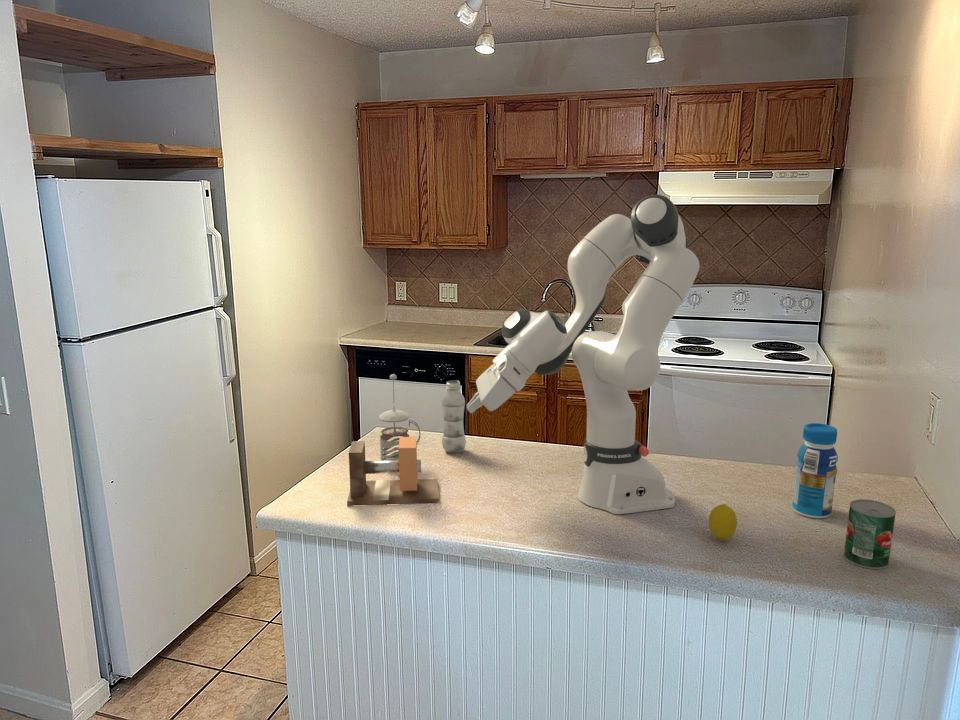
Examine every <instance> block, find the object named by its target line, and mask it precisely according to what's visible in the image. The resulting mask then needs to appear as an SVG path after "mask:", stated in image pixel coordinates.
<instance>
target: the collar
mask: <svg viewBox="0 0 960 720" xmlns="http://www.w3.org/2000/svg"><path fill="white" fill-rule="evenodd" d="M399 438H400V439H399V440H398V441H399V445H398V447H399V450H398V451H399V473H398V474H399V475H398V478H399V479H398V480H399V483H400V491H415V490H417V479H418V472H417V463H416V460H418V455H417V454H418V452H417V451H418V449H417V448H418V446H417V445H418V444H417V443H418V442H417V436H409V437H402V436H399Z"/></svg>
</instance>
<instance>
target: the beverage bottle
mask: <svg viewBox="0 0 960 720" xmlns="http://www.w3.org/2000/svg"><path fill="white" fill-rule="evenodd" d="M802 431H803V432H802V440H803V442H804V443H802V445H800V448H799V449H798V452H797V457H798V459H797V460H796V462H795V477H794V486H793V497H792V504H791V507H792V509H793V511H794V512H795V513H796V514H799V515H800V516H803V517H806V518H811V519H826V518H829V517H830V516H831V515H832V512H833V502H834V495H835V494H834V493H835V488H836V487H835V485H836V478H837V474H838V467H837V463H838V462H839V456H838V453H837V451H836V449H835V447H834V446H835V444H836V443H837V439H838V429H837V428H836V427H835V426H833V425H829V424H825V423H817V422H812V423H806V424H805V425H803V429H802Z"/></svg>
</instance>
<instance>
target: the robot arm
mask: <svg viewBox="0 0 960 720" xmlns="http://www.w3.org/2000/svg"><path fill="white" fill-rule="evenodd" d="M576 244H577V245H575V246H574V248H573V249H572V250H571V252H570V254H569V255H568V259H567V273H568V278H569V280H570V283H571V285H572V288H573V290H574V295H575V301H576V302H575V308H574V310H573V312H572V313H571V315H570V316H569V318H568V319H567V320H566V322H565V323H563V321H562V320H561V319H560V318H559V316H557V314H556V313H554V312H553V311H550V310H544V311H542V312H541V313H540V312H539V313H538V312H534V311H531V310H529V309H526V308H525V309H524V308H523V309H522V308H521V309H516V310H513V311H512V312H511V313H510V314H509V315H508V316H507V317H506V318H505V320H503V322H502V326H501V335H502V337H503V338H504V341H505V342H506V343H507V345H506V346H505V347H504V348H503V349H502V350H501V351H500V352H499V353H498V354H497V355H496V356H495V357H494V358H493V359H492V363H493V364H491V365H490V366H489V367H488V368H487V369H486V370H485V371H483V372H482V373H481V374H480V376H478V377H477V379H476V380H475V385H476V389H477V392H476V393H474V395H473V396H472V398H471V400H470V401H469V402H468V403H467V404H466V409H467V412H469V413H470V414H474V412H476V411H477V409H479V408H481V407H483V406H484V407H485V409H487V410H488V411H489V412H493V411H495V410H497V409H498V408H499V407H500V406H502V405H503V404H504V403H506V402H507V401H508V400H509V399H510V398H511V397H512V396H513V395H514V394H516V393H515V392H516V391H517V392H520V391H521V390H522V389H524V387H525V386H526V383H527V380H528V379H529V378H530V377H531V376H532V375H533V374H534V373H535V374H536V375H542V376H551V375H554V374H557V373H558V372H560V371H561V369H563V367H564V366H565V364H566V363H567V361H568V359H569V357H570V355H571V358H572V361H573V363H574V365H575V367H576V368H577V370H578V373H579V375H580V380H581V383H582V387H583V392H584V398H585V403H586V437H585V439H584V442H583V453H582V454H583V457H582V459H583V463H584V465H583V472H582V477H581V482H580V486H579V490H578V491H577V494H576V495H577V498H578V499H579V500H580V502H582V503H583V504H585V505H587V506H590V507H593V508H596V509H600V510H604V511H607V512H609V513H611V514H614V515H624V514H631V513H632V514H633V513H638V512H639V513H641V512H647V511H656V510H663V509H664V510H665V509H671V508H672V509H673V508H674V507H675V506H676V496H675V495H674V493H673V492H672V490H670V488H668V487H667V486H666V481H665V478H664V475H663V473H662V472H661V471H660V469H658V467H656V466H655V465H654V464H653V463H652V462H650V461H649V460H648V459H646V457H648V455H650V450H649V449H648V448H647V447H646V445H643V444H642V443H641V442H639V441H638V440H636V435H635V434H636V423H637V422H636V420H637V419H636V418H637V411H636V407H635V405H634V403H633V401H632V400H631V397H630V396H629V392H628V391H639V392H640V391H645V390H647V389H649V388H651V387H652V386H653V385H654V384H655V383H656V381H657V380H658V378H659V375H660V373H661V361H660V356H659V347H660V343H661V340H662V336H663V334H664V333H665V330H666V328H667V327H668V325H669V323H671V320H672V319H673V317H674V315H675V314H676V312H677V311H678V309H679V308H680V306H681V304H682V303H683V302H684V300H685V299H686V297H687V295H688V294H689V292H690V290H691V289H692V286H693V284H694V282H695V280H696V278H697V275H698V272H699V271H700V261H699V258H698V257H697V256H696V254H695V253H694V252H693V251H692V250H690V249H689V248H688V239H687V237H686V233H685V228H684V223H683V220H682V217H681V216H680V215H679V211H678V208H677V207H676V205H675V204H674V202H673V201H672V200H671V199H669V198H668V197H666V196H665V195H661V194H650V195H647V196H645V197H643V198H641V199H639V200H638V201H637V202H636V203H635V205H634V206H633V208H632V211H631V214H630V218H629V217H628V216H626V215H624V214H622V213H621V214H620V213H614V214H611V215H609V216H607V217H606V218H604V219H603V220H602V221H601V222H599V223H598V224H597V225H595V226H594V227H593V228H592V229H591V230H590V231H589V232H588V233H587V234H586V235H585V236H584V237H583V238H581V240H580V241H579V242H578V243H576ZM631 256H635V257H636V260H637V261H638V262H640V263H643V264H647V267H646V268H645V270H644V272H643V273H642V274H641V276H640V277H639V278H638V280H637V281H636V282H635V285H633V288H631V290H630V292H629V293H628V295H627V296H626V298H625V299H624V301H623V302H622V304H621V310H622V313H623V318H622V319H623V320H622V323H621V325H620V328H619V329H618V331H617V333H615V334H613V333H611V332H607V331H603V330H597V331H596V330H594V331H593V330H592V331H586V330H587V329H588V327H589V326H590V324H591V323H592V322H593V320H594V319H595V317H596V316H597V314H598V313H599V311H600V309H601V308H602V306H603V305H604V303H605V301H606V300H605V299H606V297H607V295H606V288H607V285H608V283H609V281H610V278H611V277H612V275H613V274H614V272H615V271H616V270H617V269H619V267H620V266H621V265H622V264H623V263H624V262H625V261H626V260H627V259H628V258H630V257H631Z"/></svg>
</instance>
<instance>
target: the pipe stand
mask: <svg viewBox="0 0 960 720" xmlns="http://www.w3.org/2000/svg"><path fill="white" fill-rule="evenodd" d="M350 444H351V445H350V448H349V450H348V466H349V469H348V470H349V491H348V495H347V499H346V500H347V501H346V502H347V503H346V504H347V507H354V506H353V505H367V506H388V505H387V504H399V505H424V504H425V505H427V504H429V505H431V504H439V500H440V499H439V480H438V478H426V479H425V478H424V479H419V478H417V490H415V491H400V483H399V479H378V480H377V479H376V480H367V474H364V461H366V442H365V440H357V441H356V440H354V441H351V443H350ZM430 503H431V504H430Z"/></svg>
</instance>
